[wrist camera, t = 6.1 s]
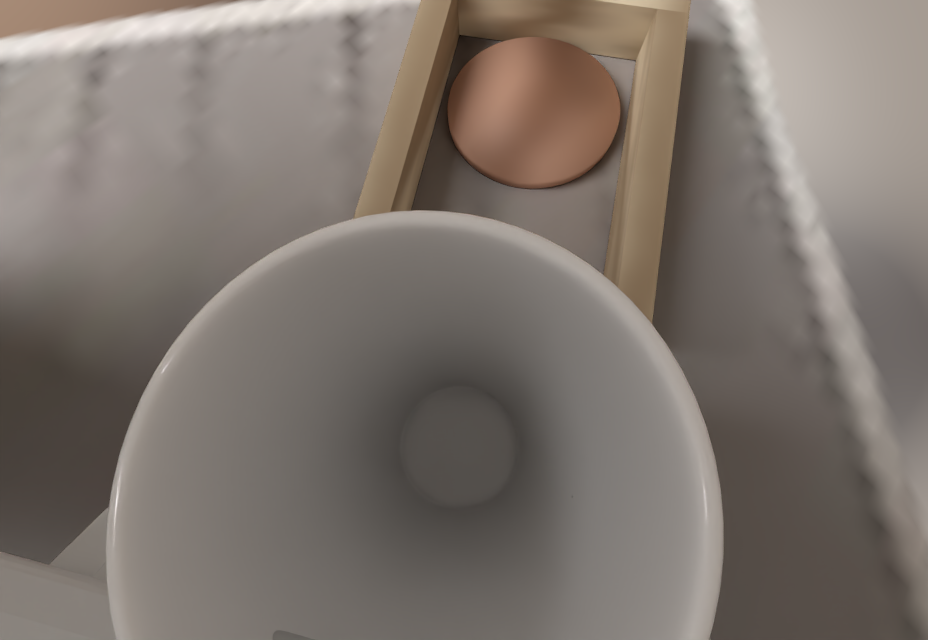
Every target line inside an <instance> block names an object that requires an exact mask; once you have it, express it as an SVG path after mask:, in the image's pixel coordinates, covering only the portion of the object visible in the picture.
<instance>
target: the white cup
mask: <svg viewBox="0 0 928 640" xmlns="http://www.w3.org/2000/svg"><path fill="white" fill-rule="evenodd" d="M572 496H573V498H572ZM723 557H724V519H723V508H722V497H721V487H720V482H719V476H718V471H717V465H716V460H715V455H714V451H713V448H712V444H711V441H710V437H709V434H708V430H707V426H706V424H705V421H704V418H703V416H702V413H701V411H700V408H699V405H698V403H697V400H696V397H695V395H694V393H693V391H692V389H691V387H690V385H689V383H688V381H687V379H686V377H685V375H684V373H683V371H682V369H681V367H680V365H679V364H678V362H677V360H676V359H675V357H674V356H673V354H672V352H671V351H670V349H669V347H668V346H667V344H666V343H665V341H664V340H663V339H662V337H661V336H660V334H659V333H658V332H657V330H656V329H655V328H654V326H653V325H652V324H651V322H650V321H649V320H648V319H647V318H646V316H645V315H644V314H643V313H642V312H641V311H640V310H639V308H638V307H637V306H636V305H635V304H634V303H633V302H632V301H631V299H629V298H628V297H627V296H626V295H625V294H624V293H623V292H622V291H621V290H620V289H619V288H618V287H617V286H616V285H615V284H614V283H612V282H611V281H610V280H609V279H608V278H606V277H605V276H604V275H603V274H601V273H600V272H599V271H598V270H596V269H595V268H594V267H592V266H591V265H590V264H588V263H587V262H585V261H584V260H582V259H581V258H579V257H578V256H576V255H575V254H573V253H571V252H570V251H568V250H567V249H565V248H563V247H561V246H559V245H557V244H555V243H554V242H552V241H550V240H548V239H546V238H544V237H542V236H539V235H537V234H535V233H532V232H530V231H527V230H525V229H523V228H520V227H517V226H514V225H511V224H508V223H504V222H501V221H498V220H495V219H490V218H485V217H481V216H476V215H472V214H465V213H457V212H448V211H429V210H413V211H396V212H388V213H381V214H374V215H368V216H363V217H359V218H355V219H351V220H347V221H343V222H340V223H337V224H334V225H331V226H328V227H325V228H322V229H319V230H316V231H314V232H312V233H309V234H307V235H305V236H303V237H300V238H298V239H296V240H294V241H292V242H290V243H288V244H286V245H284V246H282V247H281V248H279V249H277V250H275V251H273V252H271V253H270V254H268V255H267V256H265V257H264V258H262V259H261V260H259V261H258V262H256V263H254V264H253V265H251V266H250V267H248V268H247V269H246V270H245V271H243V272H242V273H241V274H240V275H238V276H237V277H236V278H234V279H233V280H232V281H231V282H229V283H228V284H227V285H226V286H225V287H224V288H223V289H221V290H220V291H219V292H218V293H217V294H216V295H215V296H214V297H213V298H212V299H211V300H210V301H209V302H207V304H206V305H205V306H204V307H203V308H202V309H201V310H200V311H199V312H198V313H197V314H196V316H195V317H194V318H193V319H192V320H191V321H190V322H189V323H188V325H187V326H186V327H185V328H184V330H183V331H182V332H181V334H180V335H179V336H178V338H177V339H176V340H175V341H174V343H173V344H172V345H171V347H170V348H169V350H168V351H167V353H166V354H165V356H164V358H163V359H162V361H161V362H160V364H159V365H158V367H157V368H156V370H155V372H154V374H153V376H152V377H151V379H150V381H149V383H148V385H147V387H146V389H145V391H144V392H143V394H142V396H141V398H140V401H139V403H138V405H137V408H136V410H135V412H134V415H133V417H132V419H131V422H130V424H129V427H128V430H127V433H126V436H125V439H124V442H123V445H122V448H121V451H120V454H119V458H118V462H117V467H116V471H115V475H114V479H113V483H112V489H111V496H110V503H109V510H108V516H107V533H106V580H107V590H108V598H109V606H110V614H111V619H112V624H113V628H114V633H115V637H116V640H273V639H272V638H273V633H274V632H275V631H277V630H281V631H286V632H290V633H293V634H297V635H300V636H304V637H307V638H311V639H315V640H709V638H710V635H711V631H712V628H713V625H714V620H715V614H716V609H717V604H718V599H719V594H720V588H721V577H722V567H723Z"/></svg>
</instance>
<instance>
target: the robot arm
mask: <svg viewBox="0 0 928 640" xmlns="http://www.w3.org/2000/svg"><path fill="white" fill-rule="evenodd" d="M572 498H573V496H572ZM108 510H109V508H107V509H105V510H104V511H103V512H102V513H101V514H100V515H99V516H98V517H97V518H96V519H95V520H94V521H93V522H92V523H91V524H90V525H89V526H88V527H87V528H86V529H85V530H84V531H83V532H82V533H81V534H80V535H79V536H78V537H77V538H76V539H75V540H74V541H73V542H72V543H71V544H70V545H69V546H68V547H66V548H65V549H64V550H63V551H62V552H61V553H60V554H59V555H58V556H57V557H56V558H55V559H54V560H53V561H52V562H51V563H50V564H49V565H48V564H44V563H40V562H37V561H33V560H30V559H26V558H23V557H19V556H15V555H12V554H8V553H5V552H1V551H0V640H116V637H115V633H114V628H113V624H112V619H111V614H110V606H109V598H108V590H107V580H106V533H107V516H108ZM272 639H273V640H315V639H311V638H307V637H304V636H300V635H297V634H293V633H290V632H286V631H281V630H277V631H275V632H274V633H273V638H272ZM709 640H711V639H710V638H709Z"/></svg>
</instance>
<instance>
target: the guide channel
mask: <svg viewBox="0 0 928 640" xmlns="http://www.w3.org/2000/svg"><path fill="white" fill-rule="evenodd" d="M690 3H691V0H421V2H420V5H419V9H418V12H417V15H416V18H415V21H414V25H413V28H412V31H411V34H410V38H409V41H408V44H407V47H406V50H405V54H404V57H403V60H402V63H401V67H400V70H399V73H398V76H397V79H396V83H395V86H394V89H393V92H392V95H391V99H390V102H389V105H388V108H387V112H386V115H385V118H384V121H383V124H382V128H381V131H380V134H379V137H378V141H377V144H376V147H375V150H374V153H373V157H372V160H371V163H370V166H369V170H368V173H367V176H366V179H365V182H364V186H363V189H362V192H361V195H360V198H359V202H358V205H357V208H356V211H355V215H354V218H353V219H355V218H359V217H363V216H368V215H374V214H381V213H388V212H396V211H411V208H412V205H413V201H414V197H415V194H416V190H417V187H418V183H419V179H420V176H421V172H422V169H423V165H424V161H425V158H426V154H427V150H428V147H429V143H430V140H431V136H432V132H433V129H434V125H435V122H436V118H437V114H438V111H439V107H440V103H441V100H442V96H443V93H444V89H445V85H446V82H447V78H448V75H449V71H450V67H451V64H452V60H453V57H454V53H455V49H456V46H457V42H458V38H459V35H465V36H472V37H479V38H486V39H493V40H499V41H503V42H500V43H497V44H495V45H493V46H491V47H489V48H486V49H485V50H483V51H482V52H480V53H478V54H477V55H476V56H475V57H473V58H472V59H471V60H470V61H469V62H468V63H467V64H466V65H465V66H464V67H463V68H462V70H461V71H460V72H459V74H458V75H457V77H456V79H455V81H454V83H453V85H452V88H451V90H450V94H449V99H448V121H449V129H450V132H451V136H452V139H453V141H454V143H455V146H456V147H457V149H458V151H459V152H460V154H461V155H462V156H463V158H464V159H465V160H466V161H467V162H468V163H469V164H470V165H471V166H472V167H473V168H474V169H475V170H477V171H478V172H480V173H481V174H483V175H484V176H486V177H488V178H490V179H492V180H494V181H496V182H499V183H502V184H505V185H509V186H513V187H518V188H527V189H540V188H548V187H554V186H558V185H562V184H564V183H567V182H570V181H572V180H574V179H576V178H578V177H580V176H582V175H583V174H585V173H586V172H588V171H589V170H591V169H592V168H593V167H594V166H595V165H596V164H597V163H598V162H599V161H600V160H601V159H602V157H603V156H604V155H605V153H606V152H607V150H608V148H609V147H610V145H611V143H612V141H613V138H614V136H615V133H616V131H617V128H618V124H619V120H620V100H619V96H618V92H617V89H616V87H615V84H614V82H613V80H612V78H611V77H610V75H609V73H608V72H607V71H606V70H605V68H604V67H603V66H602V65H601V64H600V63H599V62H598V61H597V60H596V59H595V58H594V57H592V56H591V55H590V54H596V55H603V56H610V57H617V58H623V59H630V60H636V64H635V70H634V77H633V84H632V90H631V97H630V103H629V110H628V116H627V123H626V130H625V136H624V143H623V149H622V156H621V162H620V169H619V176H618V182H617V189H616V195H615V202H614V208H613V215H612V222H611V228H610V235H609V241H608V248H607V254H606V261H605V268H604V274H603V275H604V276H605V277H606V278H608V279H609V280H610V281H611V282H612V283H614V284H615V285H616V286H617V287H618V288H619V289H620V290H621V291H622V292H623V293H624V294H625V295H626V296H627V297H628V298H629V299H631V301H632V302H633V303H634V304H635V305H636V306H637V307H638V308H639V310H640V311H641V312H642V313H643V314H644V315H645V316H646V318H647V319H648V320H649V321H650V322H651V324H652V320H653V311H654V303H655V295H656V286H657V278H658V270H659V261H660V253H661V245H662V236H663V228H664V220H665V211H666V203H667V195H668V186H669V178H670V170H671V161H672V153H673V145H674V136H675V128H676V119H677V111H678V103H679V94H680V86H681V78H682V69H683V61H684V53H685V44H686V36H687V28H688V19H689V11H690ZM588 53H589V54H588Z"/></svg>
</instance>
